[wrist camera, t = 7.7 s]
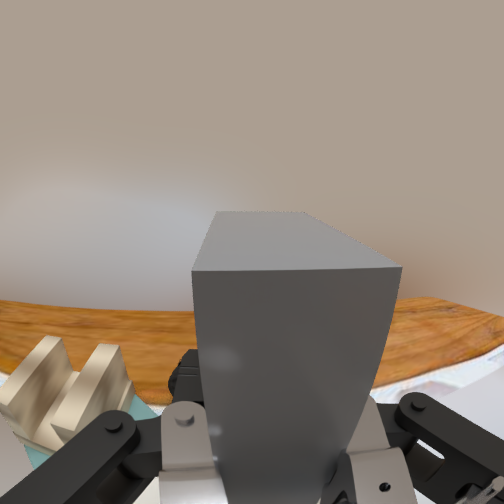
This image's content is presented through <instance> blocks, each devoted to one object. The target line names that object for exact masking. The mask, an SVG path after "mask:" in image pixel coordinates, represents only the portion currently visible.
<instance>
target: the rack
mask: <svg viewBox="0 0 504 504" xmlns="http://www.w3.org/2000/svg"><path fill="white" fill-rule="evenodd" d="M135 392H136V391H135V388H134V385H133V382H132V380H129V378H128V375H127V371H126V368H125V364H124V361H123V357H122V354H121V350H120V346H119V345H110V344H101V343H99V345H98V346H97V348H96V349H95V351H94V352H93V354H92V355H91V357H90V358H89V360H88V361H87V363H86V364H85V366H84V368H83V369H82V371H81V372H75V371H73V369H72V366H71V363H70V361H69V358H68V355H67V352H66V350H65V347H64V344H63V341H62V338H59V337H53V336H48V335H46V336H45V338H44V339H43V340H42V341H41V342H40V343H39V344H38V345H37V346H36V347H35V348H34V349H33V350H32V352H31V353H30V354H29V355H28V356H27V357H26V358H25V359H24V360H23V362H22V363H21V364H20V365H19V366H18V367H17V368H16V370H15V371H14V372H13V373H12V374H11V375H10V377H9V378H8V379H7V380H6V381H5V383H4V384H3V385H2V386H1V387H0V412H1V414H2V415H3V417H4V418H5V420H6V421H7V423H8V424H9V425H10V427H11V428H12V430H13V433H14V434H15V436H16V437H17V438H18V439H19V441H20V442H21V443H22V444H24V445H26V446H28V447H31V448H33V449H35V450H37V451H40V452H42V453H44V454H47V455H49V456H52V455H53V454H54V453H55V452H56V451H58V450H59V449H60V448H61V447H62V446H64V445H65V444H66V443H67V442H68V441H69V440H71V439H72V438H73V437H74V436H75V435H76V434H78V433H79V432H80V431H81V430H82V429H83V428H85V427H86V426H87V425H88V424H89V423H90V422H91V421H93V420H94V419H95V418H96V417H97V416H98V415H100V414H101V413H103V412H106V411H109V410H121V411H124V412H127V413H128V411H129V408H130V406H131V403H132V400H133V397H134V395H135Z"/></svg>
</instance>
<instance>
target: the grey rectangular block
mask: <svg viewBox="0 0 504 504" xmlns="http://www.w3.org/2000/svg"><path fill="white" fill-rule="evenodd" d="M401 273H402V266H400V265H399V264H397V263H395V262H394V261H392V260H390V259H388V258H387V257H385V256H383V255H382V254H380V253H378V252H376V251H375V250H373V249H371V248H369V247H368V246H366V245H364V244H362V243H361V242H359V241H357V240H355V239H353V238H352V237H350V236H348V235H346V234H344V233H342V232H341V231H339V230H337V229H335V228H333V227H331V226H329V225H327V224H326V223H324V222H322V221H320V220H318V219H316V218H314V217H312V216H310V215H308V214H307V213H305V212H216V214H215V216H214V218H213V221H212V223H211V225H210V227H209V230H208V232H207V234H206V237H205V239H204V242H203V244H202V246H201V249H200V251H199V254H198V256H197V258H196V261H195V263H194V266H193V268H192V287H193V301H194V315H195V327H196V337H197V348H198V357H199V366H200V375H201V383H202V391H203V398H204V405H205V412H206V419H207V425H208V432H209V438H210V444H211V450H212V455H213V461H217V463H218V467H219V470H220V474H221V478H222V482H223V486H224V490H225V494H226V498H227V502H228V504H317V503H318V501H319V500H320V498H321V495H322V488H323V486H324V484H325V483H328V482H330V480H331V479H332V477H333V475H334V473H335V471H336V469H337V464H338V460H337V458H338V456H339V454H340V452H341V450H342V449H344V448H347V447H348V445H349V443H350V440H351V438H352V436H353V434H354V431H355V429H356V427H357V424H358V422H359V419H360V417H361V415H362V412H363V410H364V407H365V404H366V402H367V399H368V396H369V394H370V391H371V388H372V385H373V382H374V379H375V376H376V373H377V370H378V367H379V364H380V361H381V357H382V354H383V351H384V347H385V344H386V340H387V336H388V333H389V329H390V325H391V321H392V317H393V312H394V308H395V303H396V299H397V294H398V289H399V283H400V278H401Z"/></svg>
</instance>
